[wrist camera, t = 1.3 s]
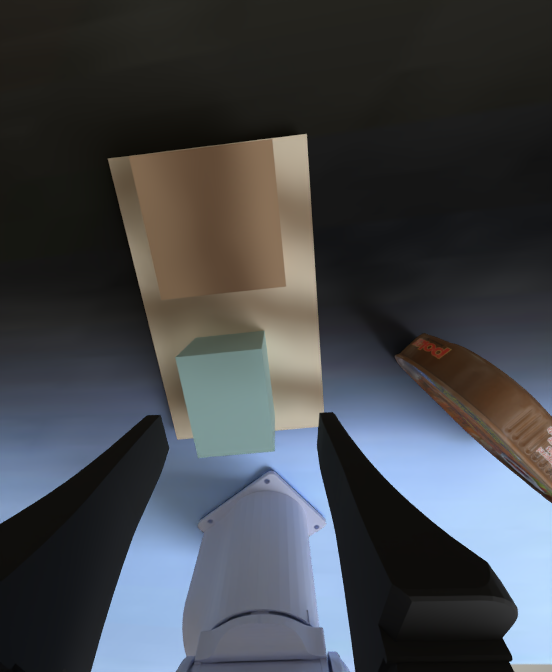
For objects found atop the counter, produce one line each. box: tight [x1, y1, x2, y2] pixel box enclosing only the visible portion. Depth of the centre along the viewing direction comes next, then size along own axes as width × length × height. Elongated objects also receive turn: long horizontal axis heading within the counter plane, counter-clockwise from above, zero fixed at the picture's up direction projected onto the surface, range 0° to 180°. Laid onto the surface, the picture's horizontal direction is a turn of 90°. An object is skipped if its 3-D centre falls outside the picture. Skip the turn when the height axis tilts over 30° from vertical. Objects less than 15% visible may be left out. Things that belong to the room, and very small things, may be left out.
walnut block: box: [129, 139, 286, 300], centre depth 15 cm, size 7×7×4 cm
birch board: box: [108, 134, 324, 440], centre depth 19 cm, size 20×12×1 cm, turn 6°
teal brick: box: [175, 331, 275, 458], centre depth 18 cm, size 5×7×4 cm
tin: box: [395, 333, 552, 503], centre depth 17 cm, size 15×3×8 cm, turn 47°
